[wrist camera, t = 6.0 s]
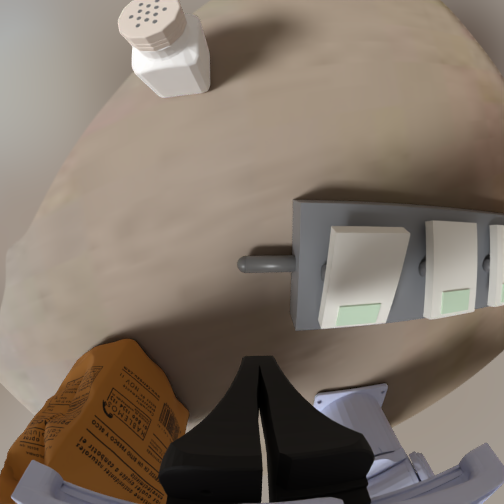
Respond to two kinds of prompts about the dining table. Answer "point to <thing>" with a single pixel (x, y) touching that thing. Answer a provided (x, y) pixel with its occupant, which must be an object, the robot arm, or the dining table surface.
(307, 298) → the switch strip
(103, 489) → the coffee package
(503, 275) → the rocker
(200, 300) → the dining table surface
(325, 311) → the rocker
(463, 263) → the rocker
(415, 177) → the dining table surface
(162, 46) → the pepper shaker
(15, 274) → the dining table surface
